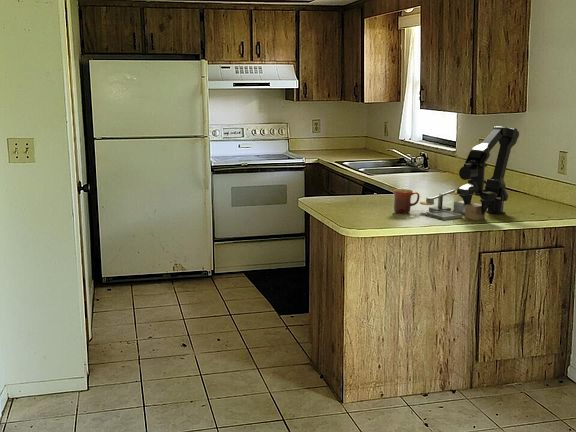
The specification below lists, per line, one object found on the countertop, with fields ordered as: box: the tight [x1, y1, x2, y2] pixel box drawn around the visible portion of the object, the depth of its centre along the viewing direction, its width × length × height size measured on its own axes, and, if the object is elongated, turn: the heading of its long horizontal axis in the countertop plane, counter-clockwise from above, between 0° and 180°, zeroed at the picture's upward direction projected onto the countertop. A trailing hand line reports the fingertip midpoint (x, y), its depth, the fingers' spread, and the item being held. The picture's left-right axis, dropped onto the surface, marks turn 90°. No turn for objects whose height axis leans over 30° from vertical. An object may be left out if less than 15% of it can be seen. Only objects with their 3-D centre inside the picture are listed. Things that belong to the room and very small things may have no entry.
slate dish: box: [425, 210, 463, 221], centre depth 311 cm, size 11×11×1 cm
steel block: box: [452, 199, 465, 215], centre depth 321 cm, size 5×5×5 cm
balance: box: [419, 189, 459, 212], centre depth 323 cm, size 22×6×9 cm, turn 120°
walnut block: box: [464, 202, 486, 221], centre depth 309 cm, size 6×6×6 cm
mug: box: [392, 188, 421, 215], centre depth 318 cm, size 12×9×10 cm
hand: (474, 212), depth 309 cm, fingers open, 9 cm apart
